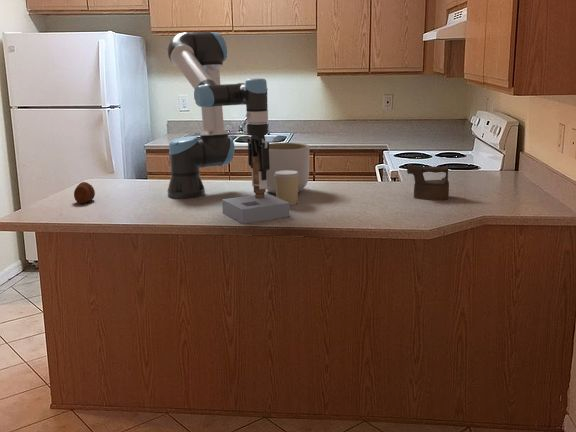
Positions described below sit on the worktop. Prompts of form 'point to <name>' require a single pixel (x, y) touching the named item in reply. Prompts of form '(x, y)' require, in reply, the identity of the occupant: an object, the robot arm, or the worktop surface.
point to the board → (255, 208)
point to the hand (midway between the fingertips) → (259, 187)
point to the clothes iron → (429, 183)
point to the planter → (288, 162)
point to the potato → (84, 193)
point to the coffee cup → (287, 185)
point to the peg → (257, 179)
